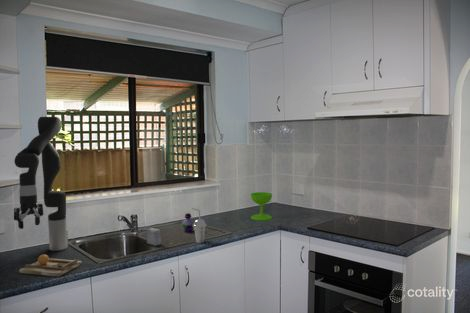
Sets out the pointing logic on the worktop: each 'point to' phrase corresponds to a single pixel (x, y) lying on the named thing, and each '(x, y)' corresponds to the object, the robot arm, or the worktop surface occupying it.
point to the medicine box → (153, 236)
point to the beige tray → (51, 267)
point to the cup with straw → (199, 228)
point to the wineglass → (261, 204)
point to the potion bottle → (188, 223)
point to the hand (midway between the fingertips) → (29, 226)
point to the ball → (43, 259)
